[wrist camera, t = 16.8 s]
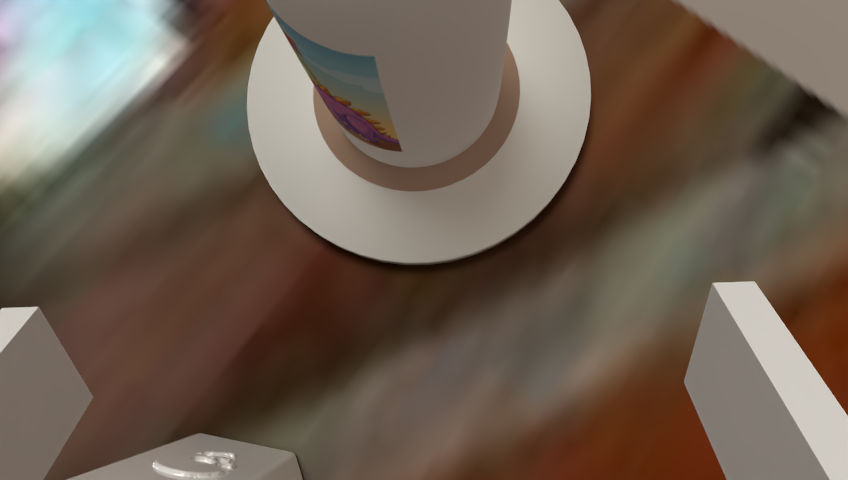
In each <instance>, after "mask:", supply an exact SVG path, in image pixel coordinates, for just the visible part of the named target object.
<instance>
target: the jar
mask: <svg viewBox="0 0 848 480" xmlns="http://www.w3.org/2000/svg"><path fill="white" fill-rule="evenodd" d="M66 480H303V478H302V475H301V472H300V468H299V465H298V462H297V458H296V456H295V454H294V453H293V452H289V451H284V450H279V449H275V448H270V447H265V446H260V445H255V444H250V443H245V442H241V441H236V440H231V439H226V438H221V437H216V436H212V435H207V434H202V433H198V434H195V435H192V436H189V437H186V438H183V439H181V440H178V441H175V442H172V443H169V444H166V445H163V446H161V447H158V448H155V449H152V450H149V451H146V452H143V453H141V454H138V455H135V456H132V457H129V458H126V459H123V460H121V461H118V462H115V463H112V464H109V465H106V466H103V467H101V468H98V469H95V470H92V471H89V472H86V473H83V474H81V475H78V476H75V477H72V478H69V479H66Z"/></svg>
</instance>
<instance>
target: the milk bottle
mask: <svg viewBox="0 0 848 480" xmlns="http://www.w3.org/2000/svg"><path fill="white" fill-rule="evenodd" d="M266 2H267V4H268V6H269V7H270V9H271V11H272V13H273V15H274V17H275V19H276V21H277V23H278V24H279V26H280V28H281V29H282V31H283V33H284V35H285V36H286V38H287V40H288V42H289V43H290V45H291V47H292V49H293V50H294V52H295V54H296V55H297V57H298V59H299V61H300V62H301V64H302V66H303V68H304V69H305V71H306V73H307V74H308V76H309V78H310V79H311V81H312V83H313V84H314V86H315V88H316V89H317V91H318V93H319V94H320V96H321V98H322V99H323V101H324V103H325V104H326V106H327V108H328V109H329V111H330V113H331V114H332V116H333V117H334V119H335V121H336V122H337V124H338V125H339V127H340V128H341V130H342V131H343V132H344V134H345V135H346V137H347V138H348V139H349V140H350V141H351V142H352V143H353V144H354V145H355V146H356V147H357V148H358V149H359V150H361V151H362V152H363V153H365V154H366V155H368V156H369V157H371V158H373V159H375V160H377V161H380V162H383V163H385V164H389V165H393V166H398V167H407V168H418V167H427V166H431V165H436V164H439V163H442V162H445V161H447V160H449V159H452V158H454V157H455V156H457V155H459V154H460V153H462V152H463V151H465V150H466V149H468V148H469V147H470V146H471V145H472V144H473V143H474V142H475V141H476V140H477V139H478V138H479V137H480V136H481V135H482V133H483V132H484V131H485V129H486V128H487V126H488V125H489V123H490V121H491V119H492V117H493V114H494V112H495V109H496V106H497V102H498V97H499V92H500V87H501V80H502V73H503V66H504V59H505V51H506V43H507V36H508V28H509V20H510V12H511V3H512V0H266Z"/></svg>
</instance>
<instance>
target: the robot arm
mask: <svg viewBox="0 0 848 480" xmlns="http://www.w3.org/2000/svg"><path fill="white" fill-rule="evenodd" d="M684 383H685V386H686V388H687V390H688V393H689V395H690V397H691V399H692V402H693V404H694V406H695V408H696V411H697V413H698V415H699V418H700V420H701V422H702V424H703V427H704V429H705V431H706V434H707V436H708V438H709V440H710V443H711V445H712V447H713V449H714V452H715V454H716V456H717V459H718V461H719V463H720V465H721V468H722V470H723V472H724V474H725V477H726V479H727V480H848V416H847V414H846V413H845V412H844V410H843V409H842V407H841V406H840V404H839V403H838V401H837V400H836V399H835V397H834V396H833V394H832V393H831V391H830V390H829V388H828V387H827V385H826V384H825V383H824V381H823V380H822V378H821V377H820V375H819V374H818V372H817V371H816V370H815V368H814V367H813V365H812V364H811V362H810V361H809V359H808V358H807V357H806V355H805V354H804V352H803V351H802V349H801V348H800V346H799V345H798V344H797V342H796V341H795V339H794V338H793V336H792V335H791V333H790V332H789V331H788V329H787V328H786V326H785V325H784V323H783V322H782V320H781V319H780V318H779V316H778V315H777V313H776V312H775V310H774V309H773V307H772V306H771V305H770V303H769V302H768V300H767V299H766V297H765V296H764V294H763V293H762V291H761V290H760V289H759V287H758V286H757V284H756V283H755V281H753V282H725V283H712V286H711V290H710V293H709V297H708V300H707V303H706V307H705V310H704V314H703V317H702V321H701V324H700V328H699V331H698V335H697V338H696V341H695V345H694V348H693V352H692V355H691V359H690V362H689V366H688V369H687V373H686V376H685V379H684ZM92 399H93V396H92V394H91V393H90V391H89V389H88V388H87V386H86V384H85V383H84V381H83V379H82V378H81V376H80V374H79V373H78V371H77V369H76V368H75V366H74V364H73V363H72V361H71V359H70V358H69V356H68V354H67V353H66V351H65V349H64V348H63V346H62V344H61V343H60V341H59V339H58V338H57V336H56V335H55V333H54V331H53V330H52V328H51V326H50V325H49V323H48V321H47V320H46V318H45V316H44V315H43V313H42V311H41V310H40V308H39V307H18V308H2V309H1V310H0V480H43V479H44V478H45V476H46V475H47V473H48V471H49V470H50V468H51V466H52V465H53V463H54V461H55V460H56V458H57V456H58V455H59V453H60V451H61V450H62V448H63V447H64V445H65V443H66V442H67V440H68V438H69V437H70V435H71V433H72V432H73V430H74V428H75V427H76V425H77V423H78V422H79V420H80V418H81V417H82V415H83V414H84V412H85V410H86V409H87V407H88V405H89V404H90V402H91V400H92Z"/></svg>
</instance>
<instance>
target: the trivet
mask: <svg viewBox="0 0 848 480" xmlns="http://www.w3.org/2000/svg"><path fill="white" fill-rule="evenodd" d="M590 103H591V87H590V73H589V68H588V63H587V58H586V53H585V50H584V48H583V45H582V42H581V39H580V36H579V33H578V31H577V29H576V28H575V26H574V24H573V22H572V20H571V18H570V16H569V14H568V13H567V11H566V10H565V9H564V7H563V6H562V4H561V3H560V1H559V0H512V3H511V12H510V20H509V28H508V36H507V43H506V51H505V59H504V66H503V73H502V80H501V87H500V92H499V97H498V102H497V106H496V109H495V112H494V114H493V117H492V119H491V121H490V123H489V125H488V126H487V128H486V129H485V131H484V132H483V133H482V135H481V136H480V137H479V138H478V139H477V140H476V141H475V142H474V143H473V144H472V145H471V146H470V147H469V148H468V149H466V150H465V151H463V152H462V153H460V154H459V155H457V156H455V157H454V158H452V159H449V160H447V161H445V162H442V163H439V164H436V165H431V166H427V167H418V168H407V167H398V166H393V165H389V164H385V163H383V162H380V161H377V160H375V159H373V158H371V157H369V156H368V155H366V154H365V153H363V152H362V151H361V150H359V149H358V148H357V147H356V146H355V145H354V144H353V143H352V142H351V141H350V140H349V139H348V138H347V137H346V135H345V134H344V132H343V131H342V130H341V128H340V127H339V125H338V124H337V122H336V121H335V119H334V117H333V116H332V114H331V113H330V111H329V109H328V108H327V106H326V104H325V103H324V101H323V99H322V98H321V96H320V94H319V93H318V91H317V89H316V88H315V86H314V84H313V83H312V81H311V79H310V78H309V76H308V74H307V73H306V71H305V69H304V68H303V66H302V64H301V62H300V61H299V59H298V57H297V55H296V54H295V52H294V50H293V49H292V47H291V45H290V43H289V42H288V40H287V38H286V36H285V35H284V33H283V31H282V29H281V28H280V26H279V24H278V23H277V21H276V19H275V17H273V19H272V20H271V22H270V24H269V25H268V27H267V29H266V31H265V33H264V35H263V37H262V39H261V41H260V43H259V45H258V48H257V51H256V54H255V57H254V60H253V63H252V67H251V73H250V78H249V83H248V95H247V114H248V126H249V132H250V136H251V140H252V145H253V149H254V152H255V154H256V157H257V159H258V162H259V165H260V167H261V169H262V171H263V173H264V175H265V177H266V179H267V180H268V182H269V184H270V186H271V188H272V189H273V190H274V192H275V193H276V194H277V196H278V197H279V198H280V200H281V201H282V202H283V204H284V205H285V206H286V207H287V208H288V209H289V210H290V211H291V212H292V213H293V214H294V215H295V216H296V217H297V218H298V219H299V220H300V221H301V222H303V223H304V224H305V225H307V226H308V227H309V228H311V229H312V230H313V231H314V232H316V233H317V234H318V235H320V236H321V237H323V238H324V239H326V240H328V241H329V242H331V243H333V244H335V245H336V246H338V247H340V248H342V249H344V250H346V251H349V252H351V253H354V254H356V255H359V256H361V257H364V258H368V259H372V260H376V261H380V262H384V263H392V264H400V265H433V264H440V263H447V262H453V261H456V260H460V259H463V258H467V257H471V256H474V255H476V254H479V253H481V252H483V251H486V250H488V249H490V248H493V247H495V246H497V245H498V244H500V243H502V242H504V241H505V240H507V239H509V238H510V237H512V236H514V235H515V234H516V233H518V232H519V231H520V230H521V229H523V228H524V227H525V226H527V225H528V224H529V223H530V222H532V221H533V220H534V219H535V218H536V217H537V216H538V215H539V214H540V213H541V212H542V211H543V209H544V208H545V207H546V206H547V205H548V204H549V203H550V201H551V200H552V199H553V197H554V196H555V195H556V193H557V192H558V191H559V189H560V188H561V186H562V185H563V183H564V182H565V180H566V178H567V176H568V175H569V173H570V171H571V169H572V167H573V166H574V164H575V162H576V160H577V157H578V155H579V152H580V149H581V147H582V144H583V142H584V138H585V134H586V130H587V125H588V121H589V114H590Z"/></svg>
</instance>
